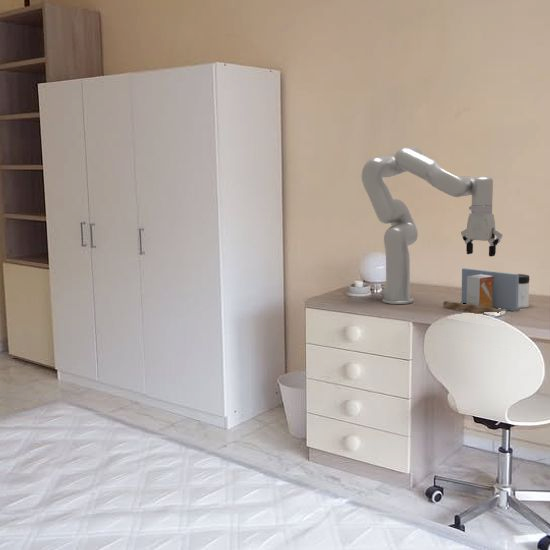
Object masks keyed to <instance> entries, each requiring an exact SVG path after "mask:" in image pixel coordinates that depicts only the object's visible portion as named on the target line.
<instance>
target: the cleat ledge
mask: <svg viewBox="0 0 550 550" xmlns="http://www.w3.org/2000/svg"><path fill="white" fill-rule="evenodd" d="M444 307H446V308H445V309H448V308H452V309H451V310H454V309H458V310H457V311H460V310H463V311H462V312H466V311H468V312H469V313H474V314H479V313H484V312H497V313H499V312H501V311H502V309H495V308H488V307H482V306H476V305H469V304H463V303H461V302H455V301H449V300H444V301H443V308H444Z"/></svg>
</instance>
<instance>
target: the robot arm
mask: <svg viewBox="0 0 550 550" xmlns="http://www.w3.org/2000/svg"><path fill="white" fill-rule="evenodd" d="M406 172H409V173H410V174H412V175H414V176H416V177H418V178H420V179H422V180H424V181H426V183H428V184H429V185H431V186H432V187H434V188H435V189H436V190H439V191H440V192H443V193H445V194H446V195H449V196H451V197H455V198H460V197H461V198H462V197H467V196H471V204H470V205H471V206H470V205H469V207H468V210H469V211H470V213H469V214H468V218H467V224H466V229H464V230H462V231H460V234H461V237H462V239H463V241H464V243H465V244H466V245H465V246H466V250H465V251H466V255H472V254H473V253H474V243H473V241H480V242H481V241H482V242H483V241H485V242H486V241H487V242H488V244H489V246H488V256H489V257H494V256H495V255H496V254H497V253H496V249H497V248H496V247H497V246H498V244H499V243H500V242H501V240H502V238H503V234H502V233H501V232H500V231H498V230H496V222H495V221H496V220H495V215H494V213H493V196H494V195H493V193H494V192H493V191H494V180H493V178H492V177H490V176H476V177H475V176H466V175H465V176H464V175H463V176H457V175H456V174H455V175H454V174H453V173H450V172H448V171H446V170H445V169H443V168H442V167H441V166H440V165H439V163H438V161H437V160H436V159H434V158H431V157H430V156H427V155H426V154H423V152H422V150H420V148H418V147H415V146H411V147H410V146H405V147H401V148H399V149H397V151H396V152H395V153H394V154H392V155H388V156H385V155H384V156H374V157H371V158H370V159H368V161H367V162H366V163H365V164H364V166H363V168H362V170H361V182H362V184H363V187H364V189H365V192H366V193H367V196H368V198H369V200H370V203H371V205H372V207H373V209H374V213H375V214H376V216H377V219H378V221H379V222H380V223H382V224H390V225H391V226H389V227H388V228H387V229H386V230H385V232H384V234H383V244H384V249H385V289H384V288H383V289H381V291H379V295H383V297H382V301H381V302H383V303H385V304H390V305H391V304H392V305H408V304H411V303H414V298H413V297H411V296H410V285H411V284H410V282H411V281H410V277H411V276H410V273H411V271H410V270H411V269H410V267H411V265H410V260H411V259H410V252H409V246H411V245H413V244H414V243H415V242H416V241H417V239H418V236H419V233H418V229H417V226H416V224H415V221H414V219H413V217H412V215H411V214H412V213H410V210H409V207H408V206H407V205H406V204H405V202H404V201H403V200H400V199H396V198H393V197H392V195H391V192H390V189H389V187H388V185H387V184H386V183H385V181H384V180H383V178H390V177H393V176H397V175H400V174H403V173H406Z"/></svg>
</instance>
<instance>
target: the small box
mask: <svg viewBox="0 0 550 550" xmlns="http://www.w3.org/2000/svg"><path fill="white" fill-rule="evenodd" d="M467 304H469V305H476V306H482V307H488V308H493V276H490V275H483V274H479V275H473V276H468V277H467Z"/></svg>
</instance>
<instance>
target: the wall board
mask: <svg viewBox="0 0 550 550" xmlns="http://www.w3.org/2000/svg"><path fill="white" fill-rule="evenodd" d="M479 274H483V275H490V276H493V308H501V310H502V309H506V310H505V311H508V310H510V311H511V312H515V311H516V312H518V310H519V311H520V309H521V308H518V287H519V274H520V273H509V272H501V271H490V270H482V269H475V268H474V269H473V268H463V267H462V269H461V302H460V303H466V304H467V277H468V276H473V275H479Z"/></svg>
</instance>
